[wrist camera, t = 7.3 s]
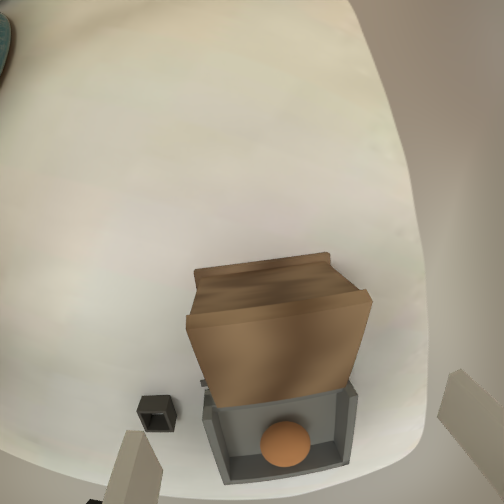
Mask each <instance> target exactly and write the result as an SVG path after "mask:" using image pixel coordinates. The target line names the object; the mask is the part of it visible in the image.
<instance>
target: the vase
mask: <svg viewBox="0 0 504 504" xmlns="http://www.w3.org/2000/svg"><path fill="white" fill-rule="evenodd" d="M10 41H11V26H10V22H9V20H8V18H7V17H6V16H5V15H4V14H3V13H1V12H0V75H1V73H2V70H3V68H4V65H5V62H6V59H7V55H8V52H9V47H10Z"/></svg>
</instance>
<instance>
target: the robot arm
mask: <svg viewBox="0 0 504 504" xmlns="http://www.w3.org/2000/svg"><path fill="white" fill-rule="evenodd" d="M437 418H438V419H439V420H440V421H441V423H443V425H444V426H445V427H446V429H447V430H448V431H449V432H450V434H451V435H452V436H453V437H454V438H455V440H456V441H457V442H458V443H459V445H460V446H461V447H462V448H463V450H464V451H465V452H466V453H467V455H468V456H469V457H470V459H471V460H472V461H473V462H474V464H475V465H476V466H477V467H478V469H479V470H480V471H481V473H482V474H483V475H484V476H485V478H486V479H487V480H488V482H489V483H490V484H491V486H492V487H493V488H494V489H495V491H496V492H497V493H498V495H499V496H500V497H501V499H502V500H503V501H504V407H503V406H502V405H501V404H500V403H499V402H497V401H496V400H495V399H494V398H493V397H492V396H491V395H490V394H489V393H488V392H487V391H485V390H484V389H483V388H482V387H481V386H480V385H479V384H478V383H477V382H475V381H474V380H473V379H472V378H471V377H470V376H469V375H468V374H466V373H465V372H464V371H463V370H462V369H460V370H457V371H455V372H453V373H451V374H449V377H448V381H447V385H446V388H445V392H444V396H443V399H442V403H441V406H440V409H439V412H438V415H437ZM162 474H163V469H162V467H161V465H160V463H159V461H158V459H157V457H156V455H155V453H154V451H153V449H152V447H151V445H150V443H149V441H148V439H147V437H146V435H145V433H144V431H131V430H127V431H126V433H125V436H124V439H123V442H122V445H121V447H120V450H119V453H118V456H117V459H116V462H115V465H114V468H113V471H112V474H111V477H110V480H109V483H108V486H107V489H106V493H105V496H104V499H103V501H98V500H93V499H90V500H89V501H88V502H87V503H86V504H157V503H158V497H159V491H160V486H161V480H162Z"/></svg>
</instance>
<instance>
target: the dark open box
mask: <svg viewBox="0 0 504 504" xmlns="http://www.w3.org/2000/svg"><path fill="white" fill-rule="evenodd" d="M152 413H164V415H152ZM137 414H138V416H139V418H140V420H141V423H142V425H143V427H144V429H145V431H146V432H174V429H175V424H176V418H177V415H176V412H175V409H174V407H173V404H172V401H171V398H170V395H160V396H142V397H141V400H140V403H139V405H138V408H137Z"/></svg>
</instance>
